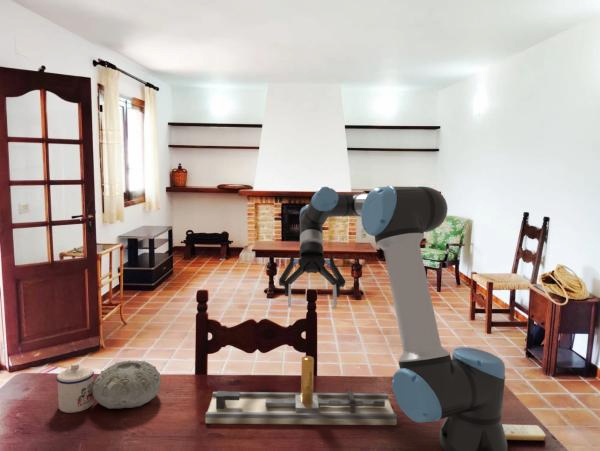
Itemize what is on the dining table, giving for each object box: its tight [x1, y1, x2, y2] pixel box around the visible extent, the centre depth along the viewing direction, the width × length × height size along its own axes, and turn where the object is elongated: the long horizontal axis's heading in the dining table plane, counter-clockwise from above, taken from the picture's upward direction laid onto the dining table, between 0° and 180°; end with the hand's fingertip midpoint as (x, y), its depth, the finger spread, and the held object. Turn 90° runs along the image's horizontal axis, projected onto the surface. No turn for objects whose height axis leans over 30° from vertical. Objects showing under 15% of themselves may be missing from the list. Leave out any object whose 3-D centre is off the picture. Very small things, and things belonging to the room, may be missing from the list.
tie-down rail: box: [205, 390, 398, 426], centre depth 126 cm, size 49×12×5 cm, turn 91°
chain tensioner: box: [265, 355, 385, 412], centre depth 126 cm, size 32×7×13 cm, turn 91°
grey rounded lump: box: [92, 360, 162, 410], centre depth 130 cm, size 18×18×10 cm
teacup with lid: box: [55, 362, 95, 414], centre depth 128 cm, size 12×9×12 cm
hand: (312, 305), depth 139 cm, fingers open, 13 cm apart
